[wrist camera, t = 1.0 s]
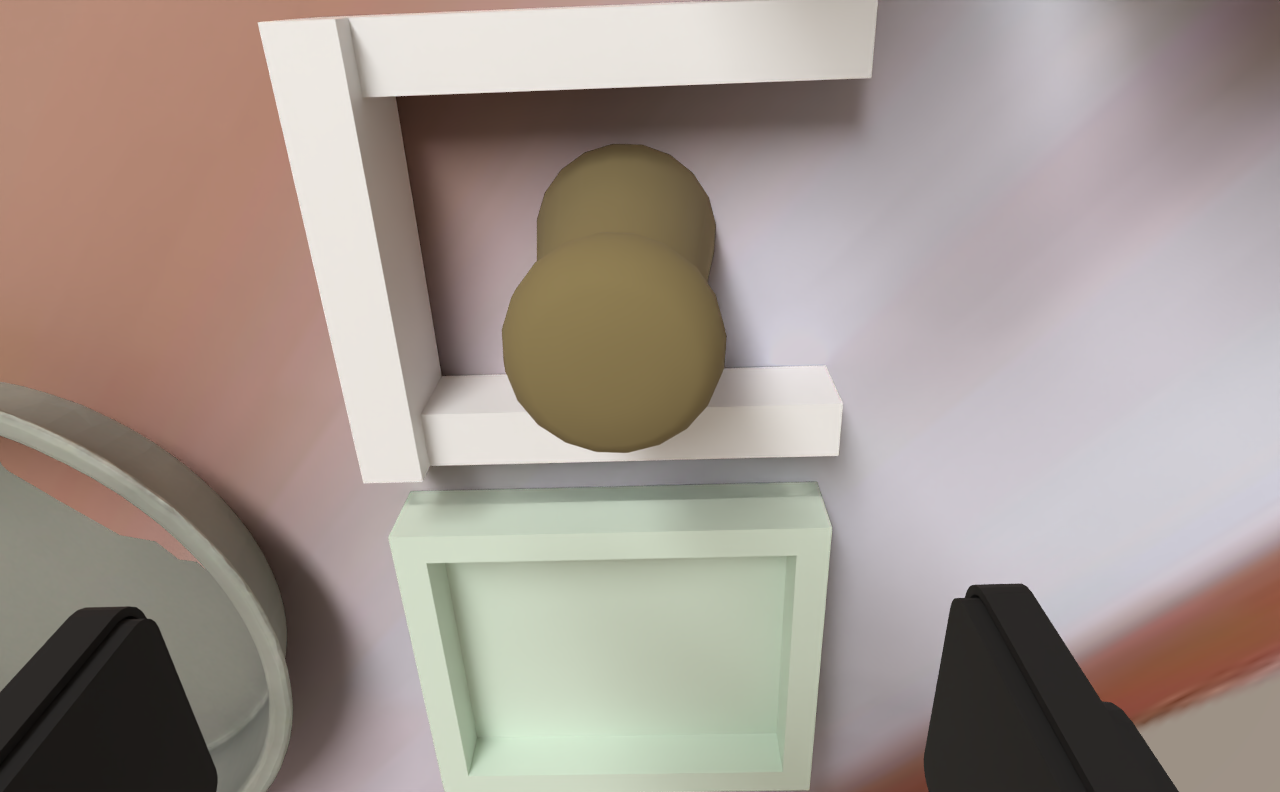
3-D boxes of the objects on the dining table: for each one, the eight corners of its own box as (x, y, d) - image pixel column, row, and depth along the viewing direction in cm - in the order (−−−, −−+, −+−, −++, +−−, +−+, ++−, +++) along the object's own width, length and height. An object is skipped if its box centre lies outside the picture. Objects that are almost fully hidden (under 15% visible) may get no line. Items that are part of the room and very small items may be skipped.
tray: (816, 481, 31) (832, 527, 29) (798, 733, 38) (809, 790, 35) (410, 491, 32) (388, 537, 29) (459, 738, 38) (445, 795, 35)
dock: (852, -6, 24) (888, -4, 20) (821, 414, 30) (844, 471, 26) (315, 17, 24) (257, 22, 21) (397, 425, 30) (363, 483, 27)
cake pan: (391, 766, 40) (361, 855, 36) (-77, 798, 41) (-156, 886, 37) (215, 297, 28) (144, 348, 24) (-415, 365, 30) (-580, 423, 26)
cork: (554, 329, 29) (502, 507, 19) (520, 156, 26) (439, 259, 16) (723, 309, 28) (761, 480, 18) (707, 131, 25) (741, 220, 16)
